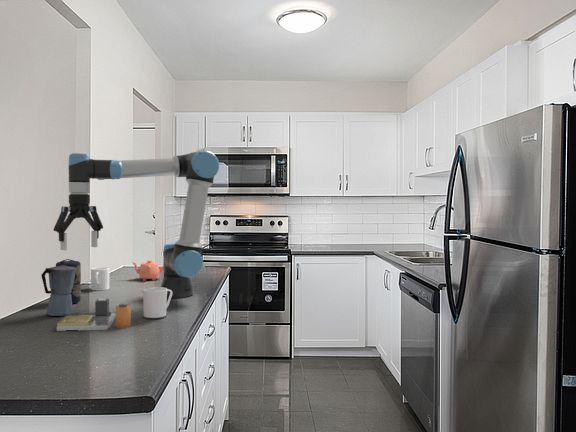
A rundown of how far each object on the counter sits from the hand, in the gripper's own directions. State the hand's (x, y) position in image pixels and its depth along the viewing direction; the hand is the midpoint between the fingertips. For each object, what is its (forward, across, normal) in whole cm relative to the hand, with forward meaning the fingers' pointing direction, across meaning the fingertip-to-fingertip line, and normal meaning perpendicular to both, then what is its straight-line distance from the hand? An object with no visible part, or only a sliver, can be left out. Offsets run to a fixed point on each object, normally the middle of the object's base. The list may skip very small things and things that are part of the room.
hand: (79, 248), depth 197 cm
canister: (+24, -5, -14) cm, 28 cm away
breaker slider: (+22, +6, +21) cm, 31 cm away
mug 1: (+24, -30, -27) cm, 46 cm away
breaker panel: (+24, +12, +21) cm, 34 cm away
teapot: (+24, -63, -30) cm, 74 cm away
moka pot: (+24, +10, +2) cm, 26 cm away
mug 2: (+24, -10, +32) cm, 42 cm away
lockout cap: (+24, +7, +33) cm, 41 cm away
